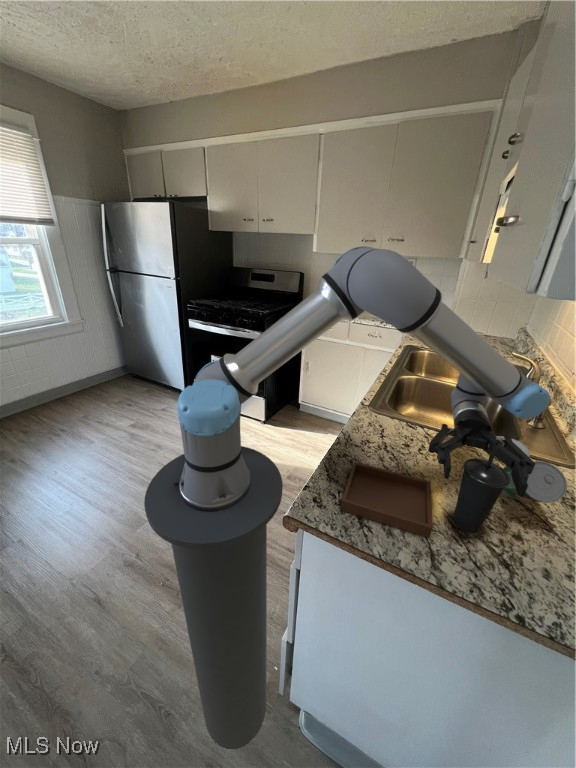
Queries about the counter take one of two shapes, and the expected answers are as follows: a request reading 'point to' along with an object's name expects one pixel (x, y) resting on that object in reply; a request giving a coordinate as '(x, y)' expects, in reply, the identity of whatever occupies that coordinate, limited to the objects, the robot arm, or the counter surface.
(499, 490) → the drinking cup
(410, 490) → the tray
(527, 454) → the donut
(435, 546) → the counter surface
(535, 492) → the canned tomato
